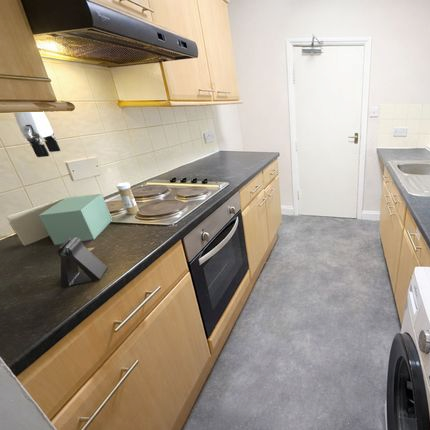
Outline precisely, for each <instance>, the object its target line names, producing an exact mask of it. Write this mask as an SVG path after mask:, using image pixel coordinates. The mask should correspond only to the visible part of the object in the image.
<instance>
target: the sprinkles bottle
mask: <svg viewBox="0 0 430 430" xmlns="http://www.w3.org/2000/svg"><path fill="white" fill-rule="evenodd" d="M116 189H117V191H118V193H119V195H120V198H121V201H122V203H123V207H124V208H125V210H126V214H127V215H135V214H138V213H139V212H140V209H139V208H138V205H137V202H136V200H135V197H134V194H133V192H132V189H131V183H130V182H120V183H117V184H116ZM138 211H139V212H138ZM137 212H138V213H137Z"/></svg>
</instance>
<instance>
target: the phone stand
mask: <svg viewBox="0 0 430 430" xmlns="http://www.w3.org/2000/svg"><path fill="white" fill-rule="evenodd" d="M70 239H71V238H69V239H68V240H67V241H66V242H65V243H64V244H61V246H60V247H59V248H57V251H56V253H57V255H58V256H59V259H60V288H62V289H63V288H64V289H65V288H70V287H73V286H79V285H85V284H89V283H94V282H98V281H100V280H101V279H102V278H103V276H104V274H105V273H106V271H107V269H108V266H107V265H106V264H105V263H103V262H102V261H101V260H100V259H99V257H97V255H95V254H93V252H92V251H91V250H89V249H88V247H86V246H85V245H84V243H83V241H82V240H81V239H80V238H78V237H74V238H73V239H72V240H71V241H70ZM79 269H81V270H82V271H81V272H79Z"/></svg>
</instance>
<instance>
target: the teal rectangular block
mask: <svg viewBox="0 0 430 430" xmlns="http://www.w3.org/2000/svg"><path fill="white" fill-rule="evenodd" d="M62 199H63V198H62ZM39 217H40V219H41V221H42V223H43V224H44V226H45V228H46V230H47V232H48V234H49V235H50V236H49V238H50V239H51V241H52V243H53V244H54V246H57V245H63V244H64V243H65V242H66V241H67V240H68V239H69V238H71V239H70V241H71V240H72V239H73V238H74V237H78V238H80V239H81V240H82V242H84V241H85V242H86V241H92V240H95V239H96V238H97V237H98V236H99V235H100V234H101V233H102V232H103V231H104V230H105V229H106V228H107V226H108V225H110V223H111V222H112V221H113V218H112V215H111V213H110V210H109V208H108V205H107V203H106V201H105V198H104V196H103V194H102V193H97V194H88V195H79V196H69V197H65V199H63V200H62V201H60V202H59V203H57V204H55V205H54V206H52V207H51V208H49V209H48V210H46V211H44V212H43V213H41V214H40V215H39ZM110 221H111V222H110Z"/></svg>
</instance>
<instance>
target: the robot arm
mask: <svg viewBox="0 0 430 430" xmlns="http://www.w3.org/2000/svg"><path fill="white" fill-rule="evenodd" d="M13 115H14V118H15V121H16V124H17V125H18V127H19V130H20V132H21V134H22V137H23V138H24V139H25V140H27V141H28V142H29V145H30V146H31V149H32V150H33V152H34V154H35V156H36V157H37V158H45V157H49V156H50V153H55V152H61V148H60V146H59V144H58V141H57V139H56V137H55V133H54V130H53V128H52V125H51V124H50V121H49V119H48V118H47V115H46V114H45V112H44V111H43V112H22V113H14V112H13ZM43 139H44V143H43ZM49 152H50V153H49Z"/></svg>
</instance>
